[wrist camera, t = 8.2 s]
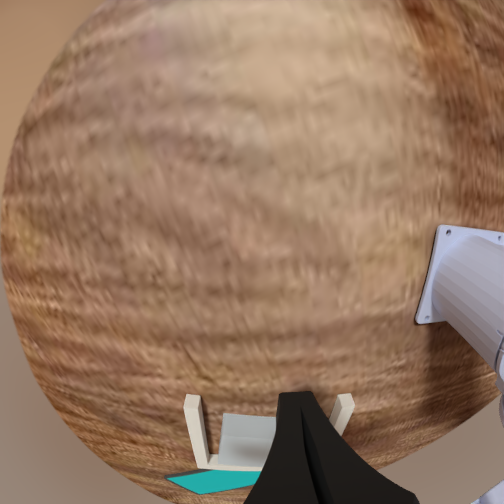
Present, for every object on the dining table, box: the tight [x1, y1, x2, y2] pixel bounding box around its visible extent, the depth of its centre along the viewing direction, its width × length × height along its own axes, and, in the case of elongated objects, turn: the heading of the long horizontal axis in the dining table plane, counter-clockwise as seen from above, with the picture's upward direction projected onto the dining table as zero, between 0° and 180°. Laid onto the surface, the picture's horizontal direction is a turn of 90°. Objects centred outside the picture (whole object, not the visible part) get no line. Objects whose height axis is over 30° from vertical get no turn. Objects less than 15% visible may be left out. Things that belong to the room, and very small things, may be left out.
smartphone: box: [164, 469, 261, 495], centre depth 27 cm, size 7×1×15 cm
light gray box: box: [218, 413, 276, 467], centre depth 22 cm, size 9×6×3 cm, turn 82°
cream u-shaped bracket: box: [184, 393, 355, 471], centre depth 22 cm, size 14×12×2 cm
